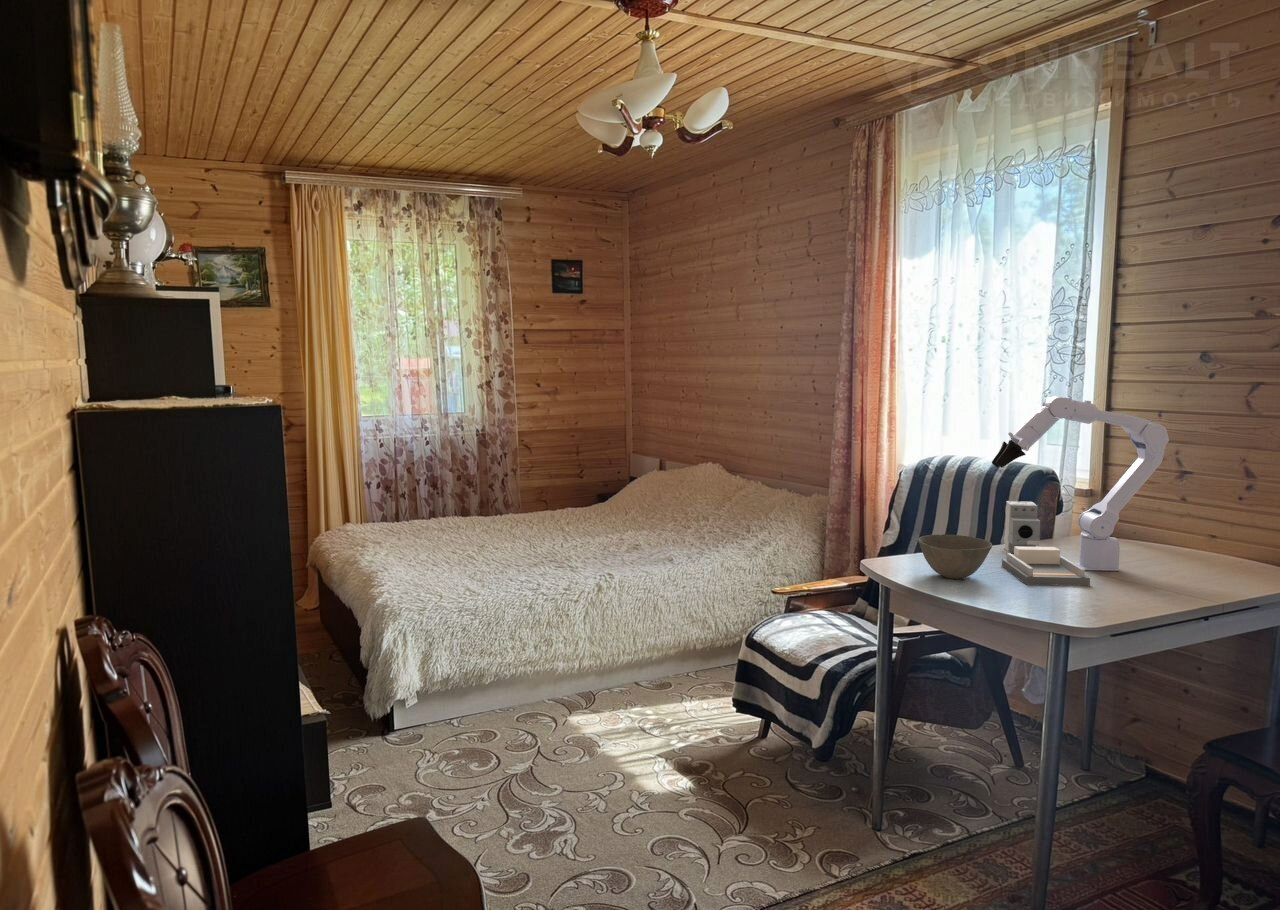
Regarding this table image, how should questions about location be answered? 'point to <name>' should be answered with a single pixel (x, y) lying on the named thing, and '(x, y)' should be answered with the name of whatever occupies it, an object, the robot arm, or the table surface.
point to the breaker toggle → (1037, 555)
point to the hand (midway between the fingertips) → (996, 465)
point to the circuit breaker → (1021, 525)
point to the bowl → (954, 554)
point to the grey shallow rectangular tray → (1046, 572)
